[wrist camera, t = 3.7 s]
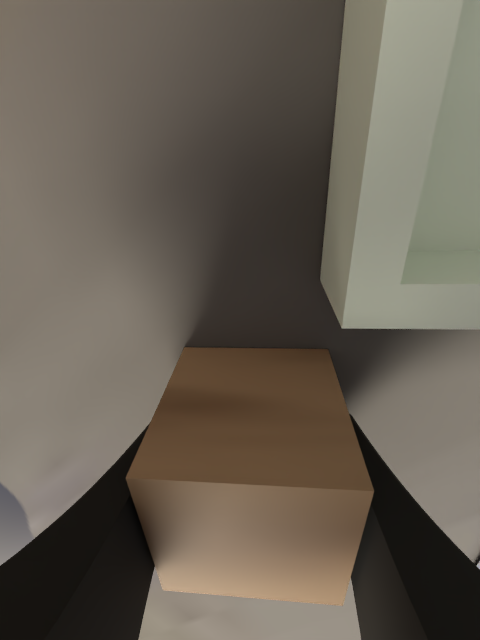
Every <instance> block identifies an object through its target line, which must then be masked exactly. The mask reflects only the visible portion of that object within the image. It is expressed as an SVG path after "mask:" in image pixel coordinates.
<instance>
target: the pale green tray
mask: <svg viewBox="0 0 480 640" xmlns="http://www.w3.org/2000/svg"><path fill="white" fill-rule="evenodd" d="M320 281H321V283H322V286H323V288H324V290H325V292H326V295H327V297H328V299H329V301H330V303H331V306H332V308H333V310H334V312H335V315H336V317H337V319H338V321H339V324H340V326H341V328H342V329H480V0H346V1H345V12H344V23H343V34H342V45H341V56H340V67H339V78H338V89H337V100H336V111H335V121H334V132H333V143H332V154H331V165H330V176H329V187H328V198H327V209H326V220H325V231H324V242H323V253H322V264H321V275H320Z"/></svg>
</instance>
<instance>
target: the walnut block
mask: <svg viewBox="0 0 480 640" xmlns="http://www.w3.org/2000/svg"><path fill="white" fill-rule="evenodd" d="M126 481H127V484H128V487H129V490H130V493H131V496H132V499H133V502H134V505H135V508H136V511H137V514H138V517H139V520H140V523H141V526H142V529H143V532H144V535H145V538H146V541H147V544H148V547H149V550H150V553H151V555H152V558H153V561H154V564H155V567H156V570H157V573H158V576H159V579H160V582H161V585H162V588H163V590H167V591H178V592H190V593H201V594H213V595H224V596H236V597H248V598H259V599H271V600H282V601H294V602H305V603H317V604H328V605H340V606H343V603H344V599H345V596H346V592H347V588H348V585H349V581H350V577H351V574H352V570H353V567H354V563H355V559H356V556H357V552H358V548H359V545H360V541H361V537H362V534H363V530H364V527H365V523H366V519H367V516H368V512H369V508H370V505H371V501H372V497H373V494H374V489H373V486H372V483H371V480H370V477H369V474H368V471H367V468H366V465H365V462H364V458H363V455H362V452H361V449H360V446H359V443H358V440H357V437H356V434H355V431H354V428H353V425H352V422H351V418H350V415H349V412H348V409H347V406H346V403H345V400H344V397H343V394H342V391H341V388H340V385H339V382H338V378H337V375H336V372H335V369H334V366H333V363H332V360H331V357H330V354H329V351H328V349H282V348H203V347H184V349H183V351H182V354H181V356H180V358H179V360H178V362H177V365H176V367H175V369H174V371H173V374H172V376H171V378H170V380H169V382H168V385H167V387H166V389H165V391H164V394H163V396H162V398H161V400H160V403H159V405H158V407H157V409H156V411H155V414H154V416H153V418H152V420H151V423H150V425H149V427H148V429H147V431H146V434H145V436H144V438H143V440H142V443H141V445H140V447H139V449H138V451H137V454H136V456H135V458H134V460H133V463H132V465H131V467H130V469H129V472H128V474H127V476H126Z"/></svg>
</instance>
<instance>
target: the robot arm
mask: <svg viewBox="0 0 480 640" xmlns="http://www.w3.org/2000/svg"><path fill="white" fill-rule="evenodd" d="M349 415H350V414H349ZM350 418H351V422H352V425H353V428H354V431H355V434H356V437H357V440H358V443H359V446H360V449H361V452H362V455H363V458H364V462H365V465H366V468H367V471H368V474H369V477H370V480H371V483H372V486H373V489H374V494H373V497H372V501H371V505H370V508H369V512H368V516H367V519H366V523H365V527H364V530H363V534H362V537H361V541H360V545H359V548H358V552H357V556H356V559H355V563H354V567H353V570H352V574H351V580H352V585H353V591H354V597H355V603H356V609H357V615H358V621H359V627H360V633H361V640H480V561H479V563H478V564H477V566H476V565H475V564H474V563H473V562H472V561H471V560H470V559H469V558H468V557H467V556H466V555H465V554H464V553H463V552H462V551H461V550H460V549H459V548H458V547H457V546H456V545H455V544H454V543H453V542H452V541H451V540H450V538H449V537H448V536H447V535H446V534H445V533H444V532H443V531H442V530H441V529H440V528H439V527H438V526H437V525H436V523H435V522H434V521H433V520H432V519H431V518H430V517H429V516H428V514H427V513H426V512H425V511H424V510H423V509H422V508H421V506H420V505H419V504H418V503H417V502H416V501H415V499H414V498H413V497H412V496H411V495H410V493H409V492H408V491H407V490H406V489H405V487H404V486H403V485H402V484H401V483H400V481H399V480H398V479H397V477H396V476H395V475H394V474H393V472H392V471H391V470H390V468H389V467H388V466H387V465H386V463H385V462H384V461H383V459H382V458H381V457H380V455H379V454H378V453H377V451H376V450H375V449H374V447H373V446H372V444H371V443H370V442H369V440H368V439H367V437H366V436H365V434H364V433H363V431H362V430H361V429H360V427H359V426H358V424H357V423H356V421H355V420H354V418H353V416H352V415H350ZM150 423H151V422H150ZM149 425H150V424H149ZM149 425H148V426H147V427H146V428H145V430H144V431H143V432H142V433H141V434H140V435H139V437H138V438H137V439H136V440H135V441H134V442H133V444H132V445H131V446H130V447H129V448H128V449H127V450H126V451H125V453H124V454H123V455H122V456H121V457H120V458H119V459H118V460H117V461H116V463H115V464H114V465H113V466H112V467H111V468H110V469H109V470H108V471H107V472H106V473H105V474H104V475H103V476H102V477H101V478H100V479H99V480H98V481H97V482H96V483H95V484H94V485H93V486H92V487H91V488H90V489H89V490H88V491H87V492H86V493H85V494H84V495H83V496H82V497H81V498H80V499H79V500H78V501H77V502H76V503H75V504H74V505H72V506H71V507H70V508H69V509H68V510H67V511H66V512H65V513H64V514H63V515H62V516H60V517H59V518H58V519H57V520H56V521H55V522H54V523H52V524H51V525H50V526H49V527H48V528H46V529H45V530H44V531H43V532H42V533H41V534H39V535H38V536H37V537H36V538H35V539H34V540H32V542H30V543H29V544H28V545H26V546H25V547H24V548H23V549H21V550H20V551H19V552H18V553H17V554H15V555H14V556H13V557H11V558H10V559H9V560H7V561H6V562H5V563H3V564H2V565H1V566H0V640H138V638H139V633H140V629H141V624H142V619H143V615H144V610H145V606H146V601H147V597H148V592H149V588H150V584H151V579H152V575H153V571H154V567H155V564H154V561H153V558H152V555H151V553H150V550H149V547H148V544H147V541H146V538H145V535H144V532H143V529H142V526H141V523H140V520H139V517H138V514H137V511H136V508H135V505H134V502H133V499H132V496H131V493H130V490H129V487H128V484H127V481H126V476H127V474H128V472H129V469H130V467H131V465H132V463H133V460H134V458H135V456H136V454H137V451H138V449H139V447H140V445H141V443H142V440H143V438H144V436H145V434H146V431H147V429H148V427H149Z"/></svg>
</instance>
